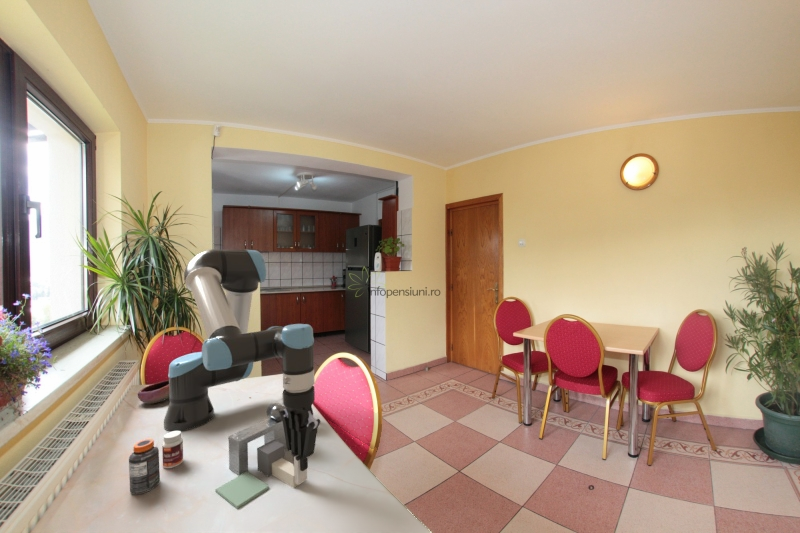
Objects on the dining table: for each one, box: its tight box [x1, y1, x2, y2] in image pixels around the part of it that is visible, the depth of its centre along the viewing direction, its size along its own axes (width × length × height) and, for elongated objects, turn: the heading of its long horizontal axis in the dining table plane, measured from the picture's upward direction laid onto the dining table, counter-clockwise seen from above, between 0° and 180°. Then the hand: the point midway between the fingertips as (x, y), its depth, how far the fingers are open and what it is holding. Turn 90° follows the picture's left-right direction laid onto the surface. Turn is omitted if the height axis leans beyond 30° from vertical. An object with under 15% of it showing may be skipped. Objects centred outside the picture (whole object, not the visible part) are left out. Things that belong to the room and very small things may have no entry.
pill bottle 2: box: [161, 431, 184, 469], centre depth 91 cm, size 5×5×8 cm
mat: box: [215, 471, 270, 510], centre depth 79 cm, size 10×8×1 cm
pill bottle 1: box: [128, 438, 161, 495], centre depth 81 cm, size 6×6×11 cm
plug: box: [256, 440, 298, 489], centre depth 85 cm, size 15×5×6 cm, turn 55°
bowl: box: [137, 379, 170, 404], centre depth 135 cm, size 16×13×8 cm
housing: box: [228, 402, 287, 476], centre depth 93 cm, size 5×16×13 cm, turn 145°
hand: (300, 480), depth 81 cm, fingers closed
